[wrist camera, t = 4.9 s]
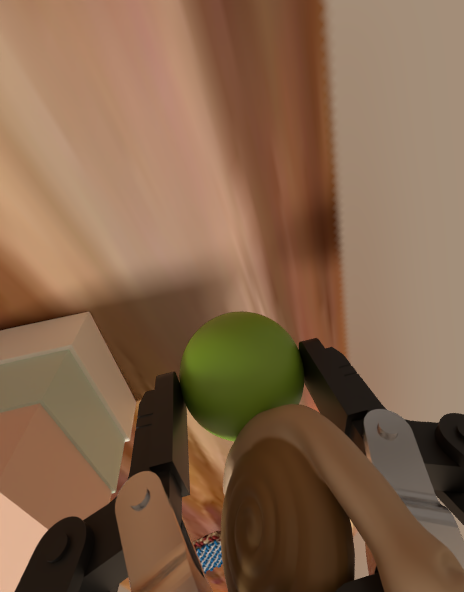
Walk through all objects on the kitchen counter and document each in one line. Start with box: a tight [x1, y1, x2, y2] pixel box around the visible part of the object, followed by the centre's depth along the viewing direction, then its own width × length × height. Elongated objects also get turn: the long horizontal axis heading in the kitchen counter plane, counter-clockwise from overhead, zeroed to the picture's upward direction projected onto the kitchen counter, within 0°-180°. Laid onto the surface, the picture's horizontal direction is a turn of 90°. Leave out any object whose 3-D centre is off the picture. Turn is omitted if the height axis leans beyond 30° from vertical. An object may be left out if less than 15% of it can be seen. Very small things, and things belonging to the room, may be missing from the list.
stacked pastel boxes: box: [0, 312, 136, 592], centre depth 18 cm, size 11×11×12 cm
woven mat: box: [193, 532, 223, 574], centre depth 47 cm, size 10×11×2 cm
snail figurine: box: [179, 312, 464, 592], centre depth 9 cm, size 5×6×12 cm
